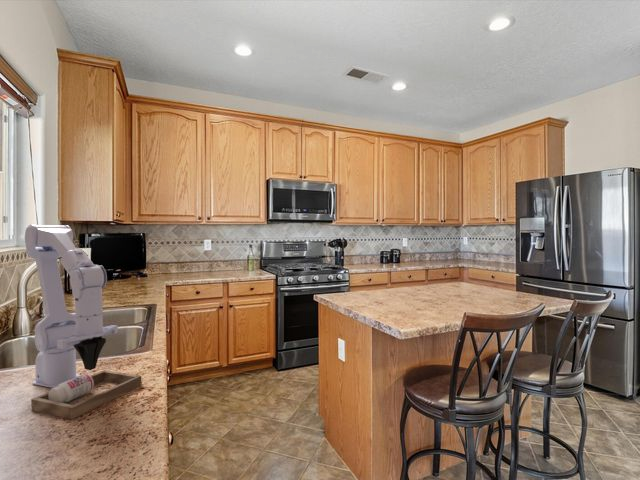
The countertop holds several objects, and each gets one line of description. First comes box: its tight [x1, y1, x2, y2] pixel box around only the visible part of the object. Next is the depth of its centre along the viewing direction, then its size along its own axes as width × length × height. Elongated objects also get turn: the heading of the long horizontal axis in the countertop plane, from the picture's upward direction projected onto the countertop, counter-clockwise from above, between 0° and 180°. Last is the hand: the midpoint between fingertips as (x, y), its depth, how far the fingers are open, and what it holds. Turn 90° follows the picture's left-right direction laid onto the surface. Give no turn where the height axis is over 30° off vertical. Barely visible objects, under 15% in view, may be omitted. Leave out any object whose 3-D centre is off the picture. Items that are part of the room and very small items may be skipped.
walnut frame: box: [30, 369, 142, 420], centre depth 88 cm, size 14×18×2 cm
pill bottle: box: [48, 373, 95, 404], centre depth 86 cm, size 5×5×8 cm
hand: (90, 368), depth 88 cm, fingers closed
